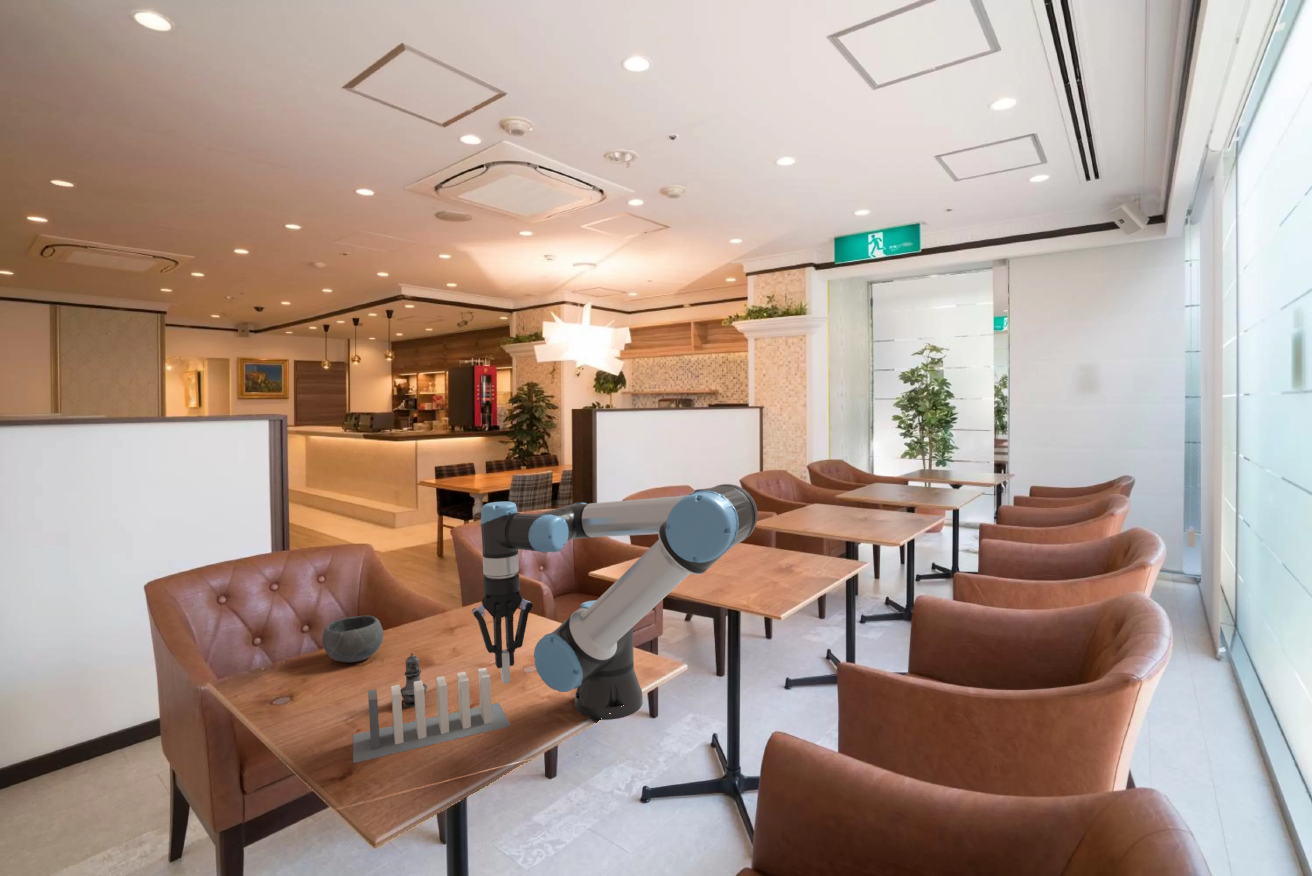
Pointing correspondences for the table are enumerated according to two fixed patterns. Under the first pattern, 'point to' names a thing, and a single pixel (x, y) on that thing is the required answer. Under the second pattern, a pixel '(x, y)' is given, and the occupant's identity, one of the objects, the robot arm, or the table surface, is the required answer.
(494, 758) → the table surface
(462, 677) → the tile
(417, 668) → the grey chess piece
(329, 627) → the bowl
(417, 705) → the tile
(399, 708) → the tile
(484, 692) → the tile
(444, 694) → the tile
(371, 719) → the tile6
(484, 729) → the mat
